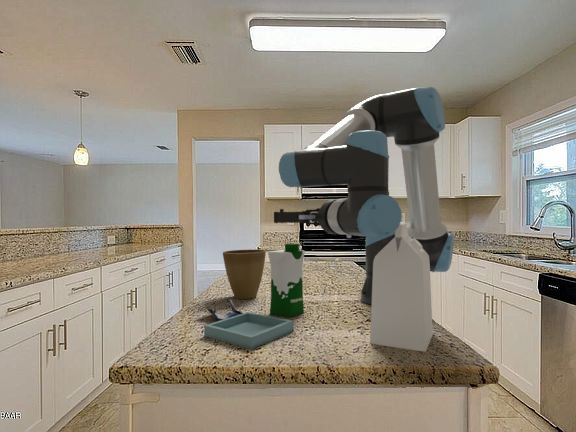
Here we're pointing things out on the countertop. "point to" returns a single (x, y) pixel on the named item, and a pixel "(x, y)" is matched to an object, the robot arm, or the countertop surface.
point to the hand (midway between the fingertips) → (299, 217)
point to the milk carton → (286, 281)
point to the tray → (248, 329)
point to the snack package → (227, 315)
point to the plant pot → (244, 271)
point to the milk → (401, 294)
